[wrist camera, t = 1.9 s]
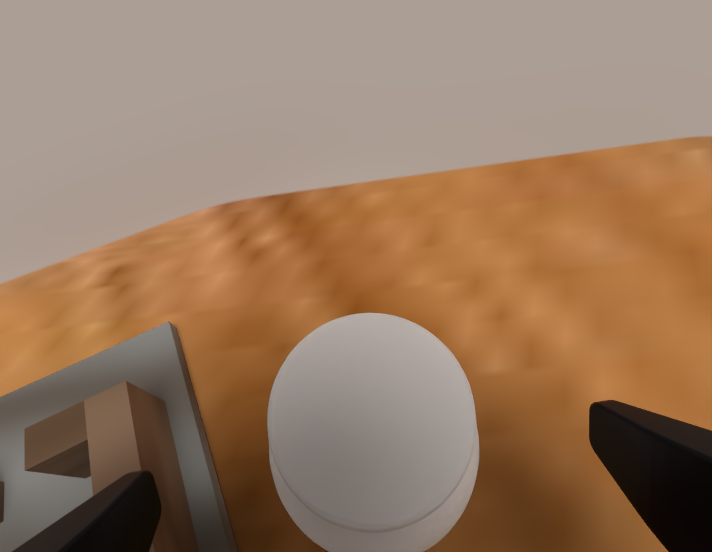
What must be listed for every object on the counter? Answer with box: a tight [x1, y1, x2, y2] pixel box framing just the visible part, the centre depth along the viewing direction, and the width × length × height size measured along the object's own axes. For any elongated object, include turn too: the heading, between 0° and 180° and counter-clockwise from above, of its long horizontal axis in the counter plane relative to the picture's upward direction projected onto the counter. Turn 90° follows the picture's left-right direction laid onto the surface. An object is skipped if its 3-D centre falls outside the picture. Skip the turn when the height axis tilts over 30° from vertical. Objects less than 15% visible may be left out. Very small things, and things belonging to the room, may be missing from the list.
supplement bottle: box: [267, 313, 479, 552], centre depth 11 cm, size 5×5×10 cm
